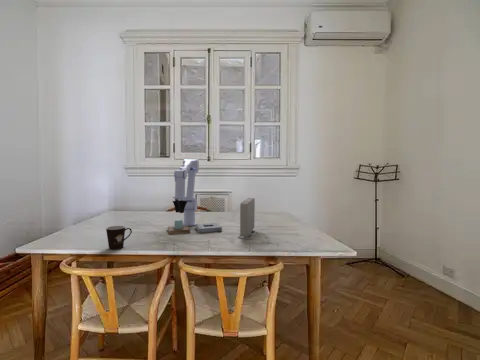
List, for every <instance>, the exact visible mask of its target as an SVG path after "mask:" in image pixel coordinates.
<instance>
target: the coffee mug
mask: <svg viewBox="0 0 480 360" xmlns="http://www.w3.org/2000/svg"><path fill="white" fill-rule="evenodd" d="M127 230H129V231H130V232H129V233H128V235H127V236H126V237H125V234H126V233H125V232H126V231H127ZM105 231H106V237H107V245H108V249H109V250H110V249H111V250H110V251H117V249H118V250H122V249H123V248H124V242H125V240H127V239H128V238H130V236H131V234H132V228H129V227H127V228H126V226H124V225H112V226H107V227H105ZM121 248H122V249H121Z"/></svg>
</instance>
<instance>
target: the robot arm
mask: <svg viewBox="0 0 480 360" xmlns="http://www.w3.org/2000/svg"><path fill="white" fill-rule="evenodd" d="M199 168H200V162H199V159H190V158H189V159H186V158H184V159H183V161H182V164H181V165H180V166H179V168H178V169H176V170H174V172H173V178H174V182H175V183H174V184H175V185H174V187H175V188H174V189H175V190H174V196H172V199H174V200H172V203H173V206H174V211H175V213H179V214H183V226H188V227H190V226H195V224H196V211H197V210H198V199H196V197H195V196H194V195H195V183H196V181H195V180H196V174H197V173H199ZM186 179H187V186H186Z"/></svg>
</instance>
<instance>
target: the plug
mask: <svg viewBox="0 0 480 360" xmlns="http://www.w3.org/2000/svg"><path fill="white" fill-rule="evenodd" d="M173 223H174V225H173V226H175V229H183V226H184V225H183V223H184V219H182V218H181V219H179V218H178V219H174V222H173Z"/></svg>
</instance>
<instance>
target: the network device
mask: <svg viewBox="0 0 480 360" xmlns="http://www.w3.org/2000/svg"><path fill="white" fill-rule="evenodd" d="M255 200H256V199H255V198H254V197H247V198H246V199H244V200H243V201H241V202H240V204H239V206H240V207H239V209H240V210H239V212H240V213H239V214H240V216H239V220H240V222H239V224H240V225H239V227H240V228H239V229H240V230H239V233H238V235H237V238H238V239H240V240H241V239H242V240H252V239H254V238H255V236H256V234H257V233H258V231H257V230H255V229H254V228H255V217H256V215H255V210H256V209H255V205H256V204H255V203H256V202H255ZM249 236H250V237H249Z"/></svg>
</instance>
